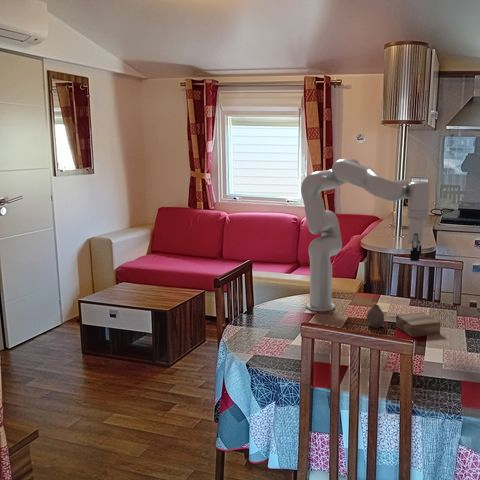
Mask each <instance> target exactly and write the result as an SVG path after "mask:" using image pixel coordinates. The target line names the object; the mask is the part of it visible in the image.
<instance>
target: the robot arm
mask: <svg viewBox="0 0 480 480" xmlns="http://www.w3.org/2000/svg"><path fill="white" fill-rule="evenodd" d="M331 166H332V167H331V168H330V169H325V170H318V171H314V172H311V173H310V174H307V175H306V176H305V178H304V179H303V181H302V182H301V185H300V193H301V197H302V201H303V205H304V212H305V219H306V224H307V228H308V231H309V233H311V234H312V235H320V236H319V237H316V238H314V239H313V240H311V241H310V243H309V245H308V250H307V251H308V256H309V269H310V270H309V301H308V302H307V303H306V304H305V305H306V306H305V307H306V308H307V309H308V310H310V311H314V312H330V311H333V310H334V309H335V307H336V305H335V304H334V302H332V299H333V298H332V296H333V294H332V293H333V292H332V291H333V289H332V288H333V265H332V261H331V257H333V256H336V255H338V254H339V253H340V252H341V250H342V247H343V241H342V240H343V239H342V234H341V229H340V228H341V227H340V221H339V219H338V216H337V215H336V213H335V212H334V211H332V210H328V209H326V208H325V203H324V199H323V196H322V195H321V192H323V191H329V190H330V191H331V190H334V189H337V188H338V187H340V186H342V185H344V184H351V185H353V186H356V187H358V188H361V189H364V190H365V191H366V192H368V193H369V194H370V195H372V196H375V197H377V198H381V199H382V200H383V199H384V200H385V201H389V202H397V201H401V200H406V199H408V200H407V219H409V228H408V239H407V240H408V241H407V244H408V245H411V249H410V258H409V261H410V262H419V261H420V257H421V255H422V243H423V241H424V240H423V239H424V235H425V225H426V224H425V223H426V221H425V220H427V219H428V220H429V213H430V211H429V209H430V192H431V185H430V183H429V182H428V181H423V180H422V181H421V180H417V181H415V180H414V181H413V180H408V179H398V180H390V179H387V178H384V177H381V176H379V175H377V174H375V171H374V169H373V168H371V167H369V166H365V165H363V164H361V163H360V161H358V160H357V159H355V158H351V157H350V158H349V157H348V158H342V159H341V158H340V159H338V160H336V161H335V162H334V163H333V164H332V165H331Z"/></svg>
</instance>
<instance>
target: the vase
mask: <svg viewBox="0 0 480 480" xmlns="http://www.w3.org/2000/svg"><path fill="white" fill-rule="evenodd" d="M365 317H366V322H367V325H368V326H369V327H370V328H373V329H379V328H381V327H382V326H383V325H384V323H385V313H384V311H383V310H382V309H381V307H380V305H379V304H373V305H372V306H371V308H370V309H368V311H367V313H366V316H365Z"/></svg>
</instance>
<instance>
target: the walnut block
mask: <svg viewBox="0 0 480 480" xmlns="http://www.w3.org/2000/svg"><path fill="white" fill-rule="evenodd" d="M441 323H442V322H440V321H439V320H437V319H436V318H434V317H432V316H430V315H428V314H426V312H415V313H414V312H413V313H404V314H403V313H402V314H396V316H395V327H396V328H398V329H399V330H400V331H403V332H404V333H405V334H407V335H408V336H410V337H412V338H417V337H425V335H426V336H434V335H435V334H436V335H440V333H441V327H442V325H441Z"/></svg>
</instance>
